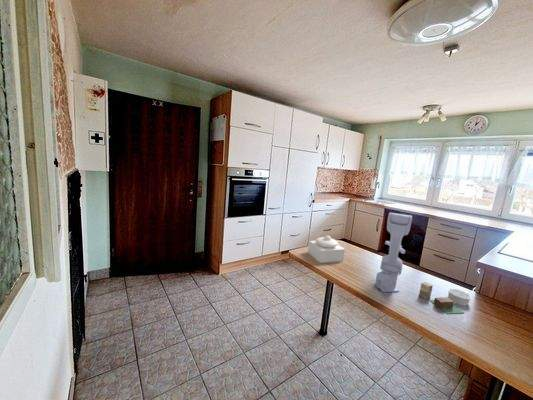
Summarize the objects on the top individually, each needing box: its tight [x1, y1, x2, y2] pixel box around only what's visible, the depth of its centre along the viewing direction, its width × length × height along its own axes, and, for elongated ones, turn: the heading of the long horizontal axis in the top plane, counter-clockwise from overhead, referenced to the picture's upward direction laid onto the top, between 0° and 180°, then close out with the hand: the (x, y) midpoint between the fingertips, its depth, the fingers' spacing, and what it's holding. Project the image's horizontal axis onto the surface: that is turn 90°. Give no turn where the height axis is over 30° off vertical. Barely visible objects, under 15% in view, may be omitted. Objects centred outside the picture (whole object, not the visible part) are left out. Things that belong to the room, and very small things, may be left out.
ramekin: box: [447, 288, 472, 307], centre depth 117 cm, size 9×9×4 cm
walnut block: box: [433, 296, 455, 310], centre depth 111 cm, size 4×4×7 cm
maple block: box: [418, 281, 434, 300], centre depth 118 cm, size 4×4×7 cm
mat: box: [429, 299, 465, 315], centre depth 111 cm, size 9×10×1 cm
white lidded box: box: [307, 235, 346, 264], centre depth 159 cm, size 18×18×16 cm
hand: (392, 260), depth 136 cm, fingers closed
